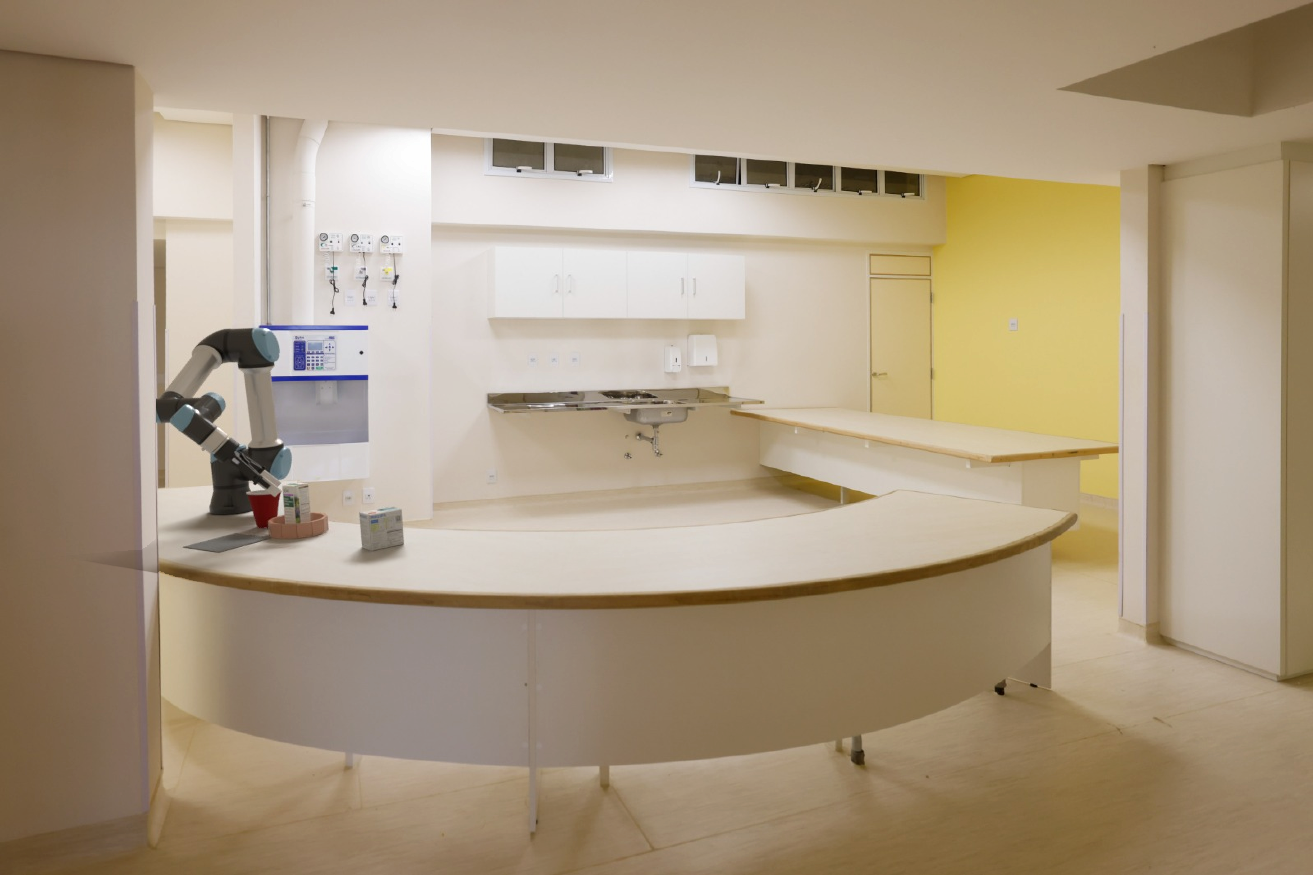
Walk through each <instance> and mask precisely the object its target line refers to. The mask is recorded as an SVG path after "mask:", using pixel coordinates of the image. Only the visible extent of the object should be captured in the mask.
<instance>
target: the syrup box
mask: <svg viewBox="0 0 1313 875" xmlns="http://www.w3.org/2000/svg"><path fill="white" fill-rule="evenodd" d="M281 490H282V500H283V515H284V516H285V524H295V523H303V522H310V521H311V515H310V512H311V503H310V502H311V501H310V488H309V483H306V482H305V483H304V482H303V483H301V482H300V483H299V482H289V483H286V484H283V485H281Z"/></svg>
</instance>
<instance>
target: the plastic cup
mask: <svg viewBox="0 0 1313 875" xmlns="http://www.w3.org/2000/svg"><path fill="white" fill-rule="evenodd" d="M282 493H283V490H282V489H281V491H280V492H279V494H278V495H277V496H276V497H274V496H273V495H271V494H270V493H269V492H267V491H266V490H265V489H260V490H259V489H257V490H251V491H250V492H246V494H247V495H248V497H249V500H250V503H251V507H252V510H251V511H252V514H253V515H252V516H253V518H254V520H255V524H256V528H258V529H269V528H268V520H270V519H272V518H274V517H278V515H279V514H278V513H279V505H280V504H279V503H280V497H281V494H282Z"/></svg>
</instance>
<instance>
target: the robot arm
mask: <svg viewBox="0 0 1313 875" xmlns="http://www.w3.org/2000/svg"><path fill="white" fill-rule="evenodd" d="M280 350H281V349H280V344H279V340H278V339H277V337H276V335H275V333H274V332H273V331H272V330H271V329H269V328H264V327H247V328H246V327H245V328H244V327H243V328H223V329H220V330H217V331H215V332H212V333H210V334H209V335H207V336H206V337H204V338H203V339H202V340H200V341H199V342H198V343H197V344H196V346H195V347H194V348H193V349H192V351H191V357H190V359H189V360H188V361H187V362H186V364H184V366H183V367H182V369H181V370H180V371H179V372H178V374H177V375H176V376H175V378H174V379H173V380H172V382H171V383H170V384H169V385H168V386H167V388H166V389H165V390H164V391H163V393H162V394H161V396H160V397H159V398H158V397H157V398H156V424H158V423H159V424H168V423H169V424H171V425H172V426H173V427H174V428H175V429H176V430H178V432H180V433H182V434H183V435H184V436H186V437H187V438H189V439H190V440H192V442H194V443H195V444H196V445H198V446H199V447H201V448H200V449H201V451H203V452H204V451H206V452H207V453H209V454H210V457H209V459H210V461H209V464H210V472H211V478H212V479H211V480H212V481H211V482H212V495H211V499H210V504H209V508H208V510H209V514H212V515H234V514H242V513H246V512H251V511H252V507H251V503H250V500H249V497H248V495H247V494H246V492H250V491H252V490H251V488H250V482H253V483H252V484H253V485H254V486H256V485H258V486H259V487H261V488H262V490H266V491H267V492H269V493H270V494H271V495H273V496H274V497H276V496H277V495H278V494H279V492H280V491H281V490H282V488H279V486H280V485H281V484H282V482H281V481H282V480H284V479H286V478H287V477H288V475H289V473H290V471H291V467H292V463H293V462H292V461H293V459H292V458H293V455H292V452H291V449H290V448H289V447H286V446H285V445H284V444H285V442H284V441H283V440H282V439H280V437H279V433H278V424H277V417H276V416H277V415H276V408H275V407H276V406H275V399H274V391H273V380H272V373H271V372H272V369H274V367H275V362H277V361H278V360H279V358H280V353H281V351H280ZM228 363H237V369H238V370H240V372H242V374H243V380H244V385H245V387H244V388H245V394H246V403H247V404H246V405H247V411H248V419H249V428H250V435H251V436H250V437H251V441H250V442H249V443H248V444H247V445H246V444H245V443H242V444H240V443H239V442H238V441H237V440H235V439H234V438H232V437H229V434H228V433H227V432H225V431H224V430H223V429H221V428H220V427H219V426H217V425H216V424H215V422H216V420H217V419H218V418H219V417H221V416H222V414H223V413H224V411H225V409H226V407H227V406H226V405H227V404H226V401H225V399H224V397H223V396H222V395H221V394H219V393H216V392H213V391H210V392H207V393H205V394H203V395H201V396H200V397H194V396H195V395H196V393H197V392H198V391H199V390H200V388H201V386H202V385H204V383H205V381H207V379H208V377H209V376H210V375H211V373H212V372H213V371H214V370H216V369H218V368H220V367H221V366H222V365H223V364H228Z"/></svg>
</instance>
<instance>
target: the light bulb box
mask: <svg viewBox="0 0 1313 875" xmlns="http://www.w3.org/2000/svg"><path fill="white" fill-rule="evenodd" d="M358 515H359V524H360V525H359V526H360V529H359V530H360V540H361V548H363V549H365V550H368V551H370V552H373V551H376V550H383V549H385V548H391V547H395V546H400V545H404V544H405V538H404V522H403V510H402V508H398V507H394V506H387V507H382V508H376V509H372V510H365V511H359V514H358Z"/></svg>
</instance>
